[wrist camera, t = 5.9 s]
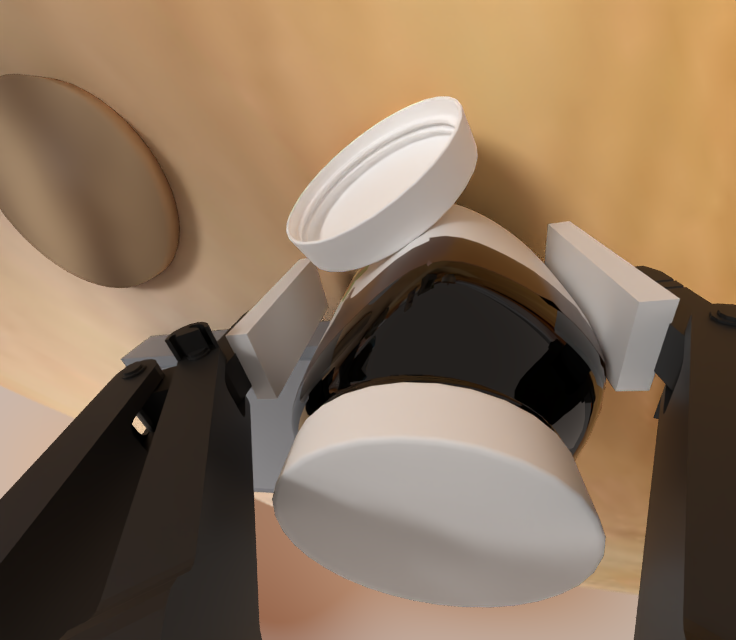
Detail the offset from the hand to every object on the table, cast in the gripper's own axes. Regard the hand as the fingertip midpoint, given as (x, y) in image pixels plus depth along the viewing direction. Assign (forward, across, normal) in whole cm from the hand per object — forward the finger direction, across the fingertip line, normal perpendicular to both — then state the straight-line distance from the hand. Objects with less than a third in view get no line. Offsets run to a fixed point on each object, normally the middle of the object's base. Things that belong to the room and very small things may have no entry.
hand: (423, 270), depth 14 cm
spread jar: (+2, -1, 0) cm, 2 cm away
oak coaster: (+1, -17, +6) cm, 18 cm away
